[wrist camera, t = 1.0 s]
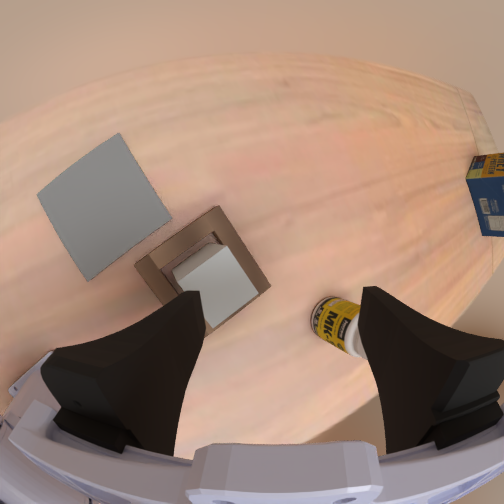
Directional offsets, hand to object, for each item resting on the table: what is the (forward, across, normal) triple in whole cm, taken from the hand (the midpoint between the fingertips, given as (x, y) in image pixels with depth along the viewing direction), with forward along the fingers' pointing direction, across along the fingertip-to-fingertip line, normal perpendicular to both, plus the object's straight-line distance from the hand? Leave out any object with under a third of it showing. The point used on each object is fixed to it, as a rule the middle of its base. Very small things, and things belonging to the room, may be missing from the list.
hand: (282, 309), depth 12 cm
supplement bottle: (+15, -5, +11) cm, 19 cm away
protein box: (+39, -46, 0) cm, 61 cm away
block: (+11, +7, +4) cm, 13 cm away
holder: (+11, +7, +4) cm, 13 cm away
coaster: (+9, +14, -4) cm, 17 cm away
